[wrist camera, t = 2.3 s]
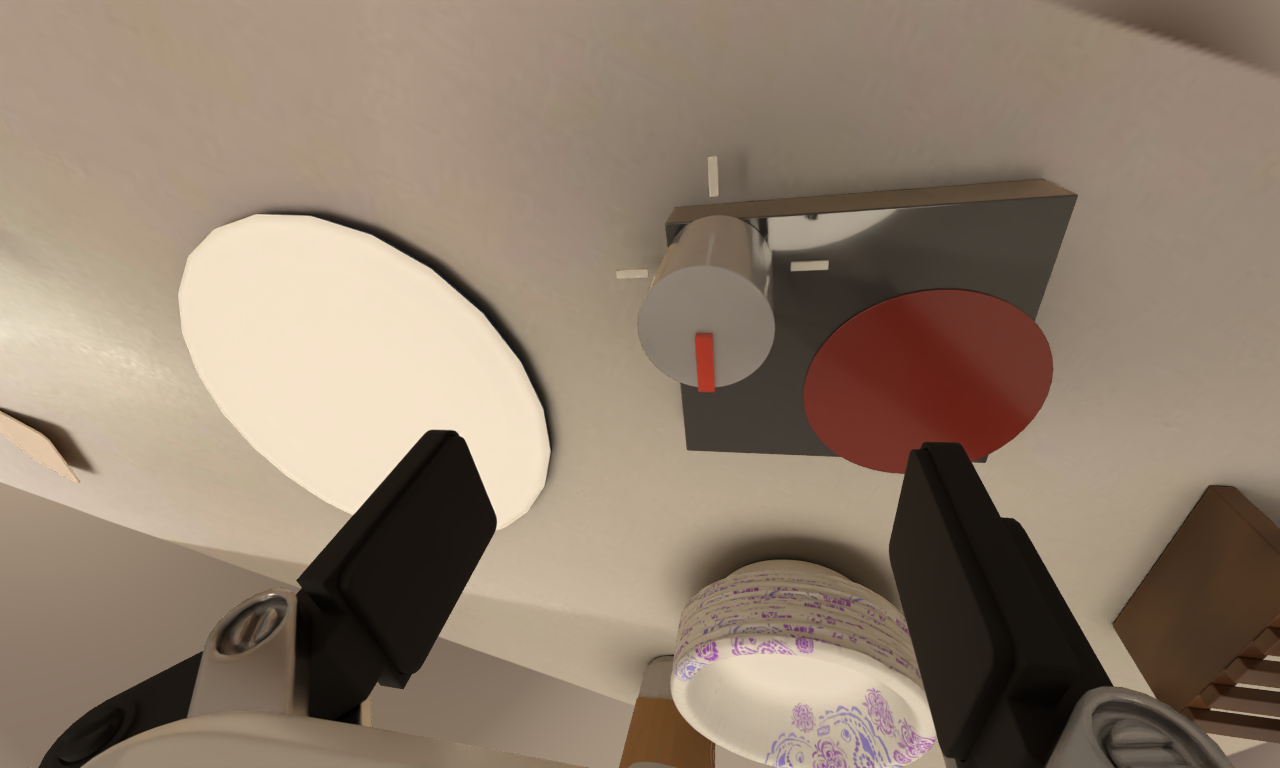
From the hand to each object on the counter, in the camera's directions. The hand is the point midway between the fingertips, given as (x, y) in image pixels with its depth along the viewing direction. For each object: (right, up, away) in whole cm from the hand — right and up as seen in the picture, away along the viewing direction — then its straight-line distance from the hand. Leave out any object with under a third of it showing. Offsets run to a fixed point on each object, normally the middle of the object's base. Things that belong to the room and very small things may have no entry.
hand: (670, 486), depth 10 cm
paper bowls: (+10, -13, +25) cm, 30 cm away
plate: (-18, +1, +22) cm, 29 cm away
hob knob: (+3, +7, +10) cm, 12 cm away
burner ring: (+12, +2, +11) cm, 16 cm away
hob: (+7, +6, +12) cm, 15 cm away
